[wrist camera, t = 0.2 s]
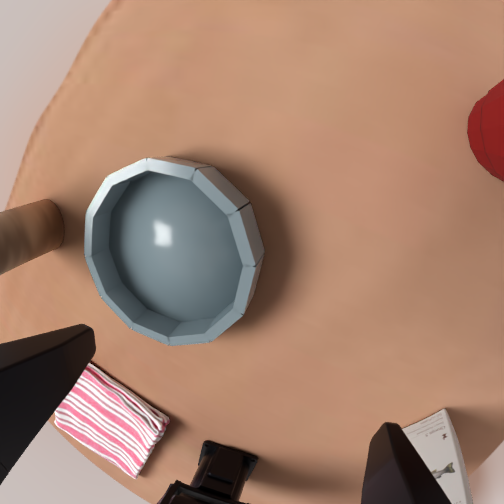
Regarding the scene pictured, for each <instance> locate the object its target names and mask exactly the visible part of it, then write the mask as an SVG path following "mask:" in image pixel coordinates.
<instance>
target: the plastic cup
mask: <svg viewBox="0 0 504 504" xmlns="http://www.w3.org/2000/svg"><path fill="white" fill-rule="evenodd" d="M467 133H468V138H469V142H470V147H471V149H472V151H473V153H474V155H475V157H476V159H477V161H478V162H479V163H480V164H481V165H482V166H483V167H484V168H485V169H486V170H487V171H488V172H489V173H490V174H491V175H493V176H495V177H497V178H499V179H500V180H502V181H504V80H502V81H501V82H500V83H498V84H497V85H496V86H495V87H493V88H492V89H491V90H489V92H488V94H487V95H486V96H484V97H483V98H482V99H480V100H479V101H478V102H476V104H475V106H474V107H473V109H472V111H471V114H470V116H469V118H468V131H467Z"/></svg>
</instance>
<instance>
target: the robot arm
mask: <svg viewBox="0 0 504 504" xmlns="http://www.w3.org/2000/svg"><path fill="white" fill-rule="evenodd" d="M95 351H96V345H95V336H94V331H93V329H92V328H91V327H89V326H87V325H85V324H79V325H75V326H71V327H67V328H63V329H59V330H55V331H51V332H47V333H43V334H39V335H35V336H31V337H27V338H23V339H19V340H15V341H11V342H7V343H2V344H0V485H1V483H2V482H3V480H4V479H5V478H6V476H7V475H8V473H9V472H10V470H11V469H12V467H13V466H14V465H15V463H16V462H17V461H18V459H19V458H20V456H21V455H22V454H23V452H24V451H25V449H26V448H27V447H28V446H29V444H30V443H31V441H32V440H33V439H34V438H35V436H36V435H37V434H38V432H39V431H40V430H41V428H42V427H43V426H44V424H45V423H46V422H47V421H48V419H49V418H50V417H51V415H52V414H53V413H54V412H55V410H56V409H57V408H58V406H59V405H60V404H61V403H62V401H63V400H64V399H65V398H66V396H67V395H68V394H69V393H70V391H71V390H72V389H73V387H74V386H75V384H76V383H77V381H78V379H79V378H80V376H81V375H82V373H83V371H84V370H85V368H86V367H87V365H88V364H89V362H90V361H91V359H92V358H93V356H94V354H95ZM257 461H258V458H257V457H256V456H253V455H249V454H246V453H243V452H239V451H236V450H233V449H230V448H227V447H224V446H221V445H218V444H215V443H212V442H210V441H204V443H203V446H202V450H201V454H200V458H199V463H198V466H199V467H198V469H197V471H196V473H195V476H194V478H193V480H192V482H191V484H190V485H187V484H184V483H182V482H181V481H178V480H176V481H175V483H174V484H170V486H169V488H168V489H167V491H166V493H165V494H164V496H163V497H162V498H161V499H160V501H159V502H158V503H157V504H246V503H243V502H239V499H240V496H241V493H242V490H243V487H244V484H245V481H247V480H248V478H249V476H250V474H251V473H252V471H253V469H254V467H255V465H256V463H257ZM247 504H249V503H247ZM361 504H452V503H451V502H450V500H449V498H448V497H447V495H446V494H445V492H444V491H443V489H442V488H441V486H440V485H439V483H438V482H437V480H436V479H435V477H434V476H433V474H432V473H431V471H430V470H429V468H428V467H427V465H426V464H425V462H424V461H423V459H422V458H421V456H420V455H419V454H418V452H417V451H416V449H415V448H414V446H413V445H412V443H411V442H410V440H409V439H408V437H407V436H406V434H405V433H404V431H403V430H402V429H401V427H400V426H399V425H398V424H397V423H390V422H385V423H384V424H383V425H382V426H381V427H380V428H379V430H378V431H377V432H376V434H375V435H374V436H373V438H372V439H371V442H370V446H369V452H368V459H367V465H366V471H365V476H364V482H363V488H362V499H361Z"/></svg>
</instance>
